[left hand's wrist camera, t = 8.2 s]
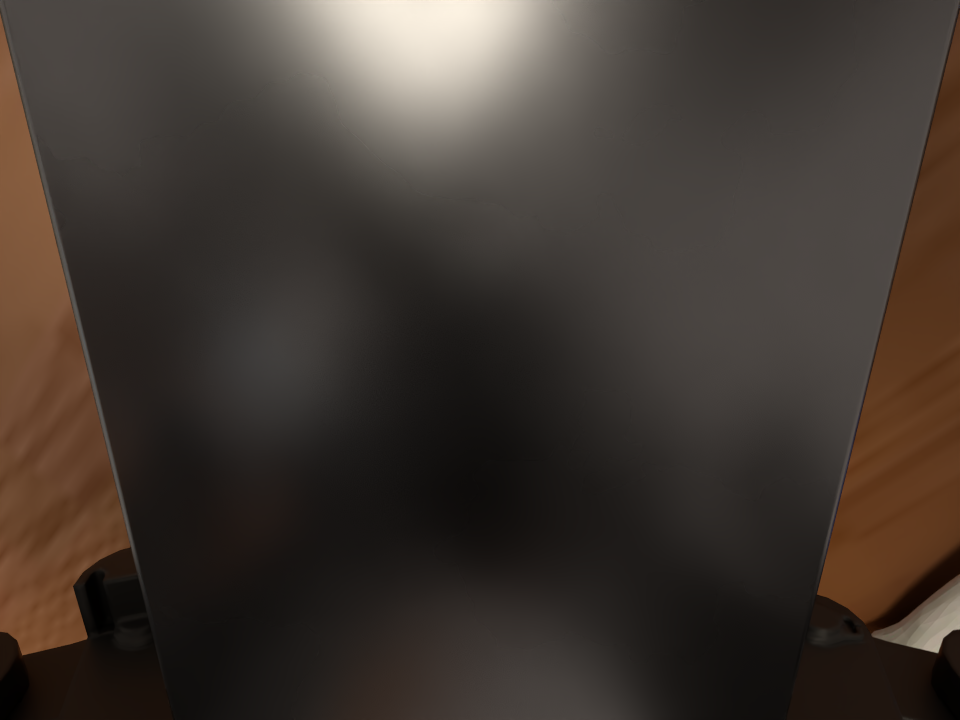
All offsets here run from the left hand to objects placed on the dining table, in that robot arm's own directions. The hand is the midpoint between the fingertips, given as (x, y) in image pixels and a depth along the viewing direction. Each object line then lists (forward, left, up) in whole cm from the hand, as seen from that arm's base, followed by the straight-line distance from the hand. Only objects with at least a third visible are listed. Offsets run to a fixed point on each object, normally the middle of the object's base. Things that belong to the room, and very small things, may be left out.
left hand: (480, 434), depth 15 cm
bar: (+6, +6, -1) cm, 9 cm away
